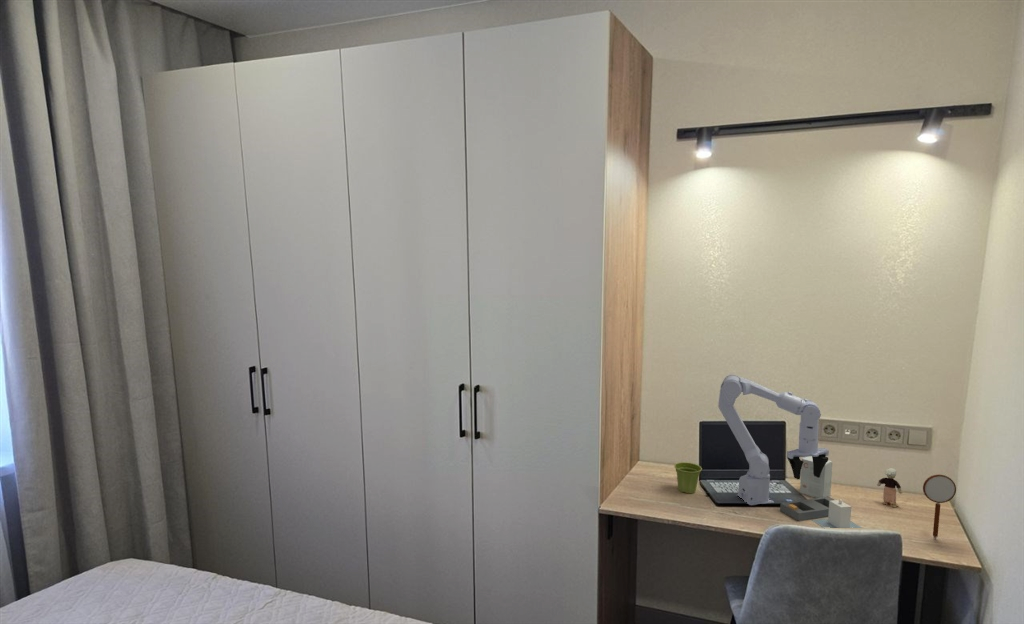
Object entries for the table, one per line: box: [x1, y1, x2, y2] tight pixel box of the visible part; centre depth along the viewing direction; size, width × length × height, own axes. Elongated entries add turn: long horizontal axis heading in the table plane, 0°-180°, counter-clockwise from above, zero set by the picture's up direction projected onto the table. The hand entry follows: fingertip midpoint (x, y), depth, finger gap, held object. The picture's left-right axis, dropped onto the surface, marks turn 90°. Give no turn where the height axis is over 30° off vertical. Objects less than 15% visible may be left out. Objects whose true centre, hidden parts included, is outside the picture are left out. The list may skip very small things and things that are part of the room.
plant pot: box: [674, 462, 703, 494], centre depth 211 cm, size 9×9×9 cm
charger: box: [827, 498, 852, 528], centre depth 184 cm, size 4×5×8 cm
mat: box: [811, 518, 863, 528], centre depth 184 cm, size 12×10×1 cm
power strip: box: [779, 496, 835, 522], centre depth 193 cm, size 20×8×4 cm, turn 108°
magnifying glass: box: [922, 474, 957, 540], centre depth 176 cm, size 9×2×20 cm, turn 77°
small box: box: [799, 456, 833, 498], centre depth 208 cm, size 8×6×13 cm
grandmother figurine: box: [876, 467, 903, 508], centre depth 201 cm, size 8×4×13 cm, turn 47°
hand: (806, 477), depth 197 cm, fingers open, 7 cm apart
